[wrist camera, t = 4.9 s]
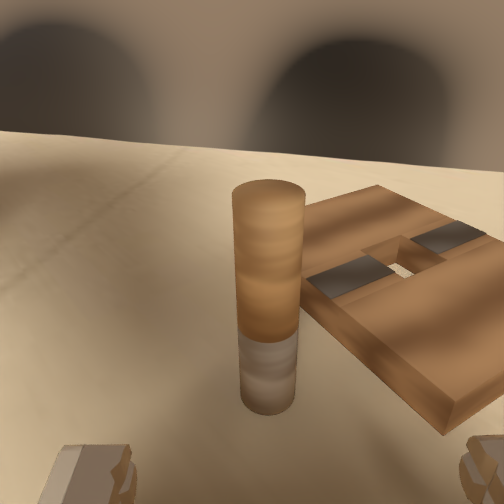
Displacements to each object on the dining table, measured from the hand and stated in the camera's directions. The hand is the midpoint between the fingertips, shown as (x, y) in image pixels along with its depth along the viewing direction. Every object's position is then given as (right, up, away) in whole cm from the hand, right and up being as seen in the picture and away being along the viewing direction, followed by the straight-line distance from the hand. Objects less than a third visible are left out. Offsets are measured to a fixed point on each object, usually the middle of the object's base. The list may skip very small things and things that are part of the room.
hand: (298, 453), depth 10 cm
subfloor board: (+12, +2, +27) cm, 30 cm away
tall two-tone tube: (0, -4, +17) cm, 18 cm away
